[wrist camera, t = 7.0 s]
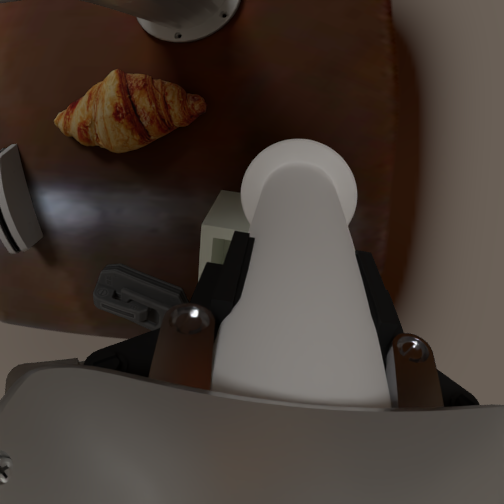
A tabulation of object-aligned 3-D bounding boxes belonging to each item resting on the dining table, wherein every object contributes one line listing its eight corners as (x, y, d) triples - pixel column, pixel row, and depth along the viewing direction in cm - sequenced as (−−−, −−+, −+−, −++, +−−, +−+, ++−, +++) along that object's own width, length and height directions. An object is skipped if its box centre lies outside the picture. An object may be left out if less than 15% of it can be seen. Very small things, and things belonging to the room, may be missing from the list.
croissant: (79, 135, 40) (55, 173, 36) (54, 80, 32) (21, 115, 27) (218, 121, 38) (205, 163, 33) (206, 49, 29) (187, 82, 25)
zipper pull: (240, 373, 46) (86, 326, 45) (245, 342, 51) (104, 300, 51) (255, 333, 41) (81, 281, 40) (259, 302, 47) (102, 257, 46)
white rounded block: (-1, 149, 38) (-32, 163, 29) (20, 140, 39) (-8, 152, 30) (26, 239, 46) (4, 267, 38) (47, 233, 47) (27, 261, 38)
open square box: (221, 189, 39) (201, 224, 30) (322, 206, 39) (331, 246, 30) (213, 274, 45) (196, 321, 36) (301, 288, 45) (302, 339, 36)
